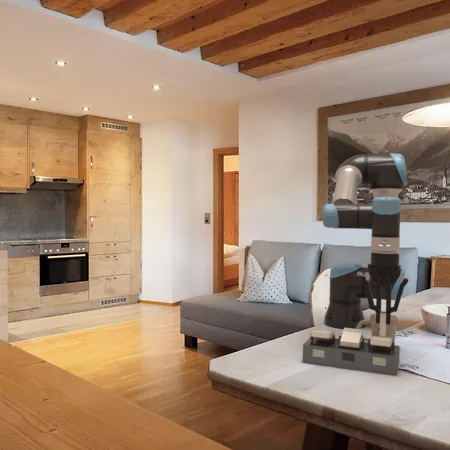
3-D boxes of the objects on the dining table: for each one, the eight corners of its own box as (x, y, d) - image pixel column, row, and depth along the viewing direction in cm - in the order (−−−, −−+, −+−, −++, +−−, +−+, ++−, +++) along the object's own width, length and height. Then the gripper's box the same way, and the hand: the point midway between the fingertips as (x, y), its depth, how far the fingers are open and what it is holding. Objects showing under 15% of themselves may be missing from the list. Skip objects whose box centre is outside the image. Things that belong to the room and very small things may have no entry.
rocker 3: (373, 341, 132) (373, 335, 132) (391, 343, 130) (392, 337, 130) (370, 344, 124) (370, 338, 124) (390, 346, 122) (390, 340, 122)
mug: (399, 352, 141) (400, 319, 141) (356, 349, 144) (357, 317, 144) (394, 345, 150) (395, 314, 149) (354, 342, 152) (355, 311, 152)
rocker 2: (344, 332, 135) (344, 327, 134) (362, 334, 133) (362, 329, 133) (340, 345, 128) (340, 340, 127) (358, 348, 126) (358, 342, 125)
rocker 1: (317, 335, 138) (317, 329, 138) (334, 337, 136) (334, 331, 136) (311, 336, 131) (311, 330, 131) (329, 338, 129) (329, 332, 129)
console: (311, 351, 140) (311, 328, 140) (399, 363, 130) (399, 338, 130) (302, 362, 130) (302, 337, 130) (397, 376, 120) (397, 348, 120)
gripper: (359, 252, 129) (357, 335, 130) (409, 254, 124) (407, 341, 125) (362, 249, 136) (360, 329, 137) (410, 252, 131) (408, 334, 132)
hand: (382, 335), depth 131 cm, fingers closed
